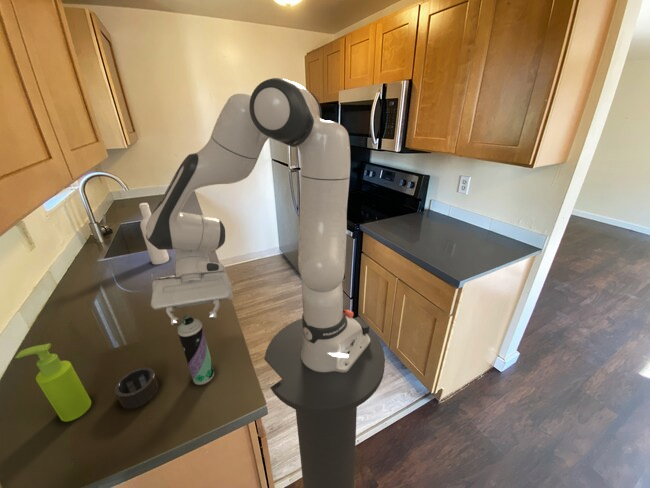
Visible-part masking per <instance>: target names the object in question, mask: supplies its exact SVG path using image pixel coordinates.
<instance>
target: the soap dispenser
mask: <svg viewBox="0 0 650 488" xmlns="http://www.w3.org/2000/svg"><path fill="white" fill-rule="evenodd" d="M51 347H52V343H45V344H39V345H34V346H30V347H27V348H24V349H22V350H19V352H18V353H17V354H16V356H14V359H21V358H23V357H27V356H31V355H36V356H37V357H38V358H39V359H38V360H37V361H36V363H35V364H36V366H37V368H38V369H39V372H38V373H37V375H36V376H35V381H36V383H37V384H38V386H39V388H40V389H41V390H42V392H43V394H44V396H45V397H46V399H47V400H48V402H49V403H50V405H51V407H52V408H53V410H54V411H55V413H56V415H57V417H58V418H59V419H60V421H62V422H66V423H67V422H72V421H74V420H76V419H78V418H80V417H82V416H83V415H84V414H86V412H87V411H88V410H90V408H91V406H92V399H91V398H90V396H89V394H88V392H87V391H86V389H85V387H84V385H83V383H82V381H81V380H80V378H79V376H78V373H76V370H75V369H74V366H73V365H72V362H71V361H69V360H61V359H60V357H59V355H58V354H57V353H50V351H49V350H50V348H51Z"/></svg>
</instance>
